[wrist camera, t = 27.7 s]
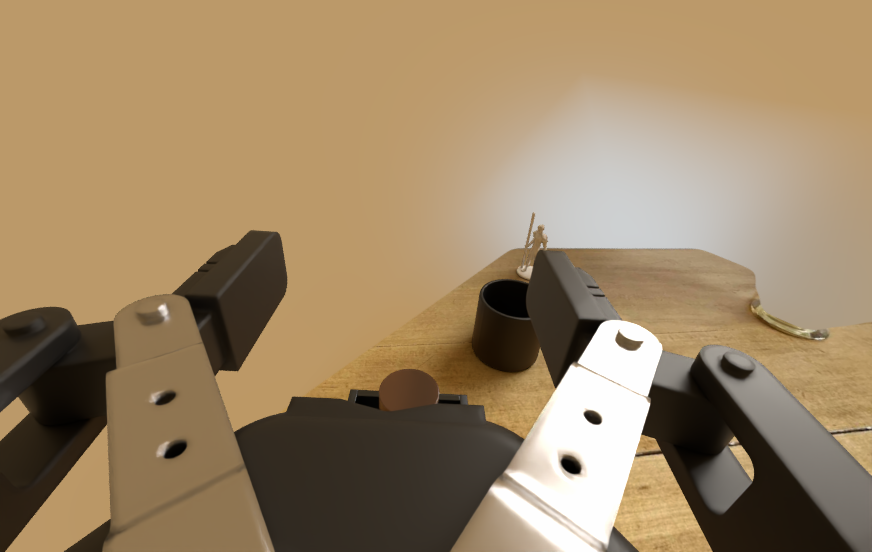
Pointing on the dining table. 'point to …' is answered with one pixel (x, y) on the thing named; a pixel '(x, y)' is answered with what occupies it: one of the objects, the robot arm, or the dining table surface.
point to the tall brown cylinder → (407, 390)
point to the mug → (504, 327)
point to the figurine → (532, 249)
